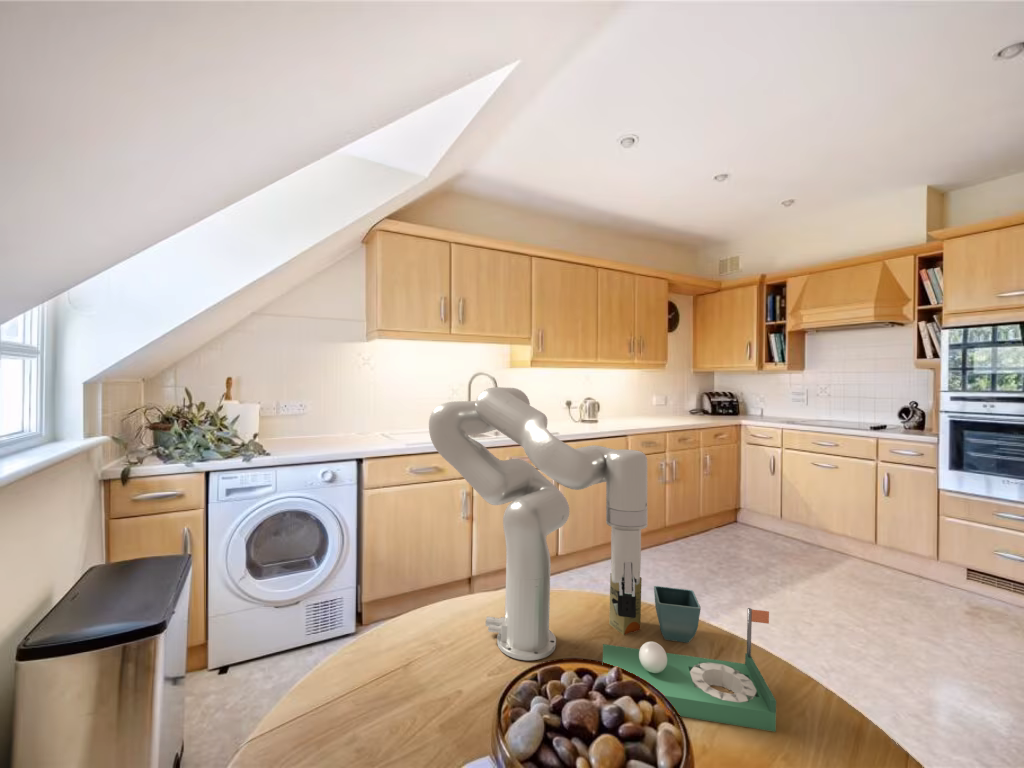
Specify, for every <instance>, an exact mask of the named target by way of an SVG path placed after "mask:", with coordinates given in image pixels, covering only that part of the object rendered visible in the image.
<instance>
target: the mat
mask: <svg viewBox="0 0 1024 768" xmlns="http://www.w3.org/2000/svg"><path fill="white" fill-rule="evenodd" d="M639 651H640V648H636V647H635V648H633V647H629V646H628V647H627V646H622V645H621V646H619V645H614V644H613V645H612V644H605V643H603V644H602V663H603V662H604V663H607V664H610V665H613V666H618V667H620V668H622V669H624V670H626V671H628V672H630V673H633V674H635V675H636V676H639V677H640V678H642V679H644V680H646V681H647V682H649V683H650V684H651V685H653V686H654V687H655V688H656V689H658V690H659V691H660V692H662V693H663V694H664V695H665V697H666V698H667V699H668V700H669V701H670V702H671V704H672V705H673V706H674V707H675V709H676V710H677V712H678V713H679V714H680V716H679V717H684V718H689V719H697V720H702V721H709V722H715V723H722V724H727V725H732V726H738V727H746V728H752V729H757V730H763V731H768V732H769V731H770V732H774V733H775V732H777V731H776V730H777V727H776V726H777V719H776V718H777V700H776V698H775V696H774V695H773V692H772V690H771V689H770V687H769V686H768V684H767V682H766V680H765V678H764V676H763V675H762V673H761V671H760V669H759V667H758V666H757V664H756V662H755V660H754V658H753V657H752V656H751V658H749V657H747V652H746V653H744V654H745V657H744V663H741V662H735V661H727V660H720V659H713V658H708V657H707V658H705V657H697V656H691V655H685V654H677V653H669V652H666V655H667V665H666V667H665V669H664V670H663V671H661V672H659V673H651V672H649V671H647V670H646V669H645V668H644V667H643V666H642V664H641V662H640V659H639ZM746 665H747V667H746ZM711 686H716V687H722V688H725V689H728V690H729V691H731V692H733V693H729V692H728V693H727V692H724V691H720V690H717V689H716V688H713V687H711Z"/></svg>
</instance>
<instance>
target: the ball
mask: <svg viewBox="0 0 1024 768" xmlns="http://www.w3.org/2000/svg"><path fill="white" fill-rule="evenodd" d="M639 649H640V651H639V659H640V662H641V664H642V666H643V667H644V668H645V669H646V670H647V671H649V672H651V673H659V672H661V671H663V670H664V669H665V667H666V665H667V655H666V653H667V652H666V650H665V649H664V647H663V646H662V645H661V644H659V643H657V642H656V641H646V642H645V643H643V644H642V645H641V646H640V648H639Z"/></svg>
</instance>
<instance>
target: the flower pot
mask: <svg viewBox="0 0 1024 768" xmlns="http://www.w3.org/2000/svg"><path fill="white" fill-rule="evenodd" d="M653 591H654V593H653V594H654V606H655V607H654V608H655V612H656V618H657V620H658V625H659V629H660V632H661V635H662V637H663V639H664V640H666V641H672V642H680V643H686V644H688V643H690V642H691V640H693V638H694V637H695V636H696V633H697V632H698V627H699V621H700V616H701V615H700V614H701V606H700V604H699V603H700V602H699V601H698V598H697V595H696V594H695V592H694V591H693V590H692V589H686V588H675V587H668V586H662V585H661V586H660V585H653Z"/></svg>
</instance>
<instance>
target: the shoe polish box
mask: <svg viewBox="0 0 1024 768" xmlns="http://www.w3.org/2000/svg"><path fill="white" fill-rule="evenodd" d="M609 575H610V576H609V579H610V580H609V583H610V584H609V612H608V613H609V615H608V616H609V618H608V619H609V621H608V622H609V624H608V625H609V626H611V627H612V628H614V629H615V630H616V631H618V633H620V634H621V635H622V636H626V635H629V634H633V633H635V632H636V633H637V632H640V631H641V623H642V622H641V619H642V617H641V616H642V614H641V613H642V612H641V611H642V610H641V609H642V580H643V579H642V577H641V576H640V583H639V584H638V585H636V584H635V595H636V617H635V618H631V617H621V616H619V615H618V591H619V583H616V584H614V583H613V582H612V576H611V572H610V574H609Z"/></svg>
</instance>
